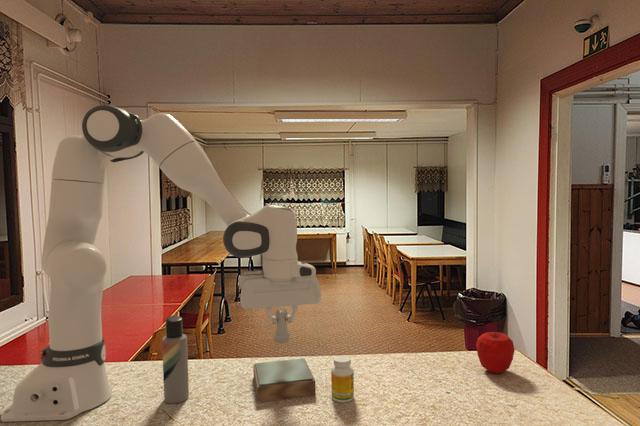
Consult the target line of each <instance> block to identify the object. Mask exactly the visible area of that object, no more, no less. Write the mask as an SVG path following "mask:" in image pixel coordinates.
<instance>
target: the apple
mask: <svg viewBox="0 0 640 426" xmlns="http://www.w3.org/2000/svg"><path fill="white" fill-rule="evenodd" d="M475 346H476V347H475V348H476V353H477V357H478V360H479V362H480V365H481V366H482V368H483V369H485V370H487V371H488V372H489V373H491V374H495V375H500V374H504V372H506V371H507V370H508V369H510V367H511V365H512V363H513V362H512V361H513V360H514V354H515V346H514V341H513V340H512V339H511V338H510V336H508V335H507V334H505V333H502V332H498V331H489V332H484V333H482V334H481V335H480V336H478V338H477V341H476V343H475Z"/></svg>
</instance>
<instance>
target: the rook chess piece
mask: <svg viewBox="0 0 640 426" xmlns="http://www.w3.org/2000/svg"><path fill="white" fill-rule="evenodd" d="M287 315H289V313H288V311H287V309H286V308H278V309H276V310H275V313H274V316H276V328H275V332H274V333H273V337H274V338H273V341H274V343H277V344H287V343H289V342H290V341H291V339H292V338H291V333H290V332H289V329H288V325H287V324H288V322H287Z"/></svg>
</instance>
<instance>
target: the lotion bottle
mask: <svg viewBox="0 0 640 426" xmlns="http://www.w3.org/2000/svg"><path fill="white" fill-rule="evenodd" d="M161 344H162V345H161V348H162V375H163V376H162V377H163V396H164V397H163V398H164V401H165V402H166V403H167V404H172V405H173V404H179V403H182V402H185V401H186V400H187V399H188V398H189V394H190V390H189V389H190V386H189V384H190V383H189V382H190V381H189V360H188V359H189V357H188V356H189V355H188V353H189V352H188V336H187V335H186V333H184V328H183V317H182V316H180V315H170V316H168V317H167V318H165V336H163V337H162V339H161Z"/></svg>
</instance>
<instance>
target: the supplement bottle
mask: <svg viewBox="0 0 640 426" xmlns="http://www.w3.org/2000/svg"><path fill="white" fill-rule="evenodd" d="M351 360H352V359H351V357H350V356H347V355H338V356H335V357H334V358H333V366H332V367H331V369H330V371H331V372H330V375H331V376H330V377H331V386H330V388H331V392H330V393H331V399H333V401H335V402H336V403H337V402H338V403H343V404H344V403H348V402H352V401H353V399H355V391H354V390H355V389H354V388H355V387H354V386H355V385H354V384H355V381H354V380H355V379H354V378H355V377H354V376H355V372H354V368H353V366H352V362H351Z"/></svg>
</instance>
